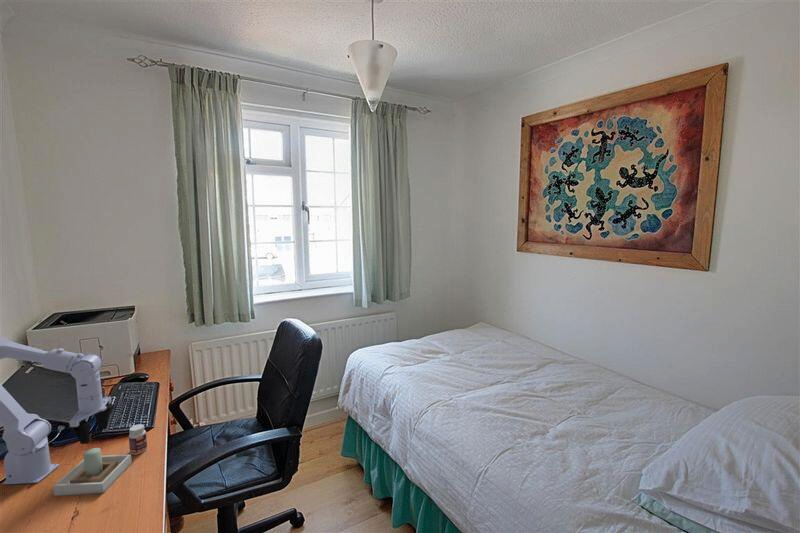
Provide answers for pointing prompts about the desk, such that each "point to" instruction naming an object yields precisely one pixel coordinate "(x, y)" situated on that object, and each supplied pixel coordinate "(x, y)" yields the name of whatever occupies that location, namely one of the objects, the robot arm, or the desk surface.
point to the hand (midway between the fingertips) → (94, 435)
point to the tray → (81, 484)
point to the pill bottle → (137, 439)
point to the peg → (93, 462)
